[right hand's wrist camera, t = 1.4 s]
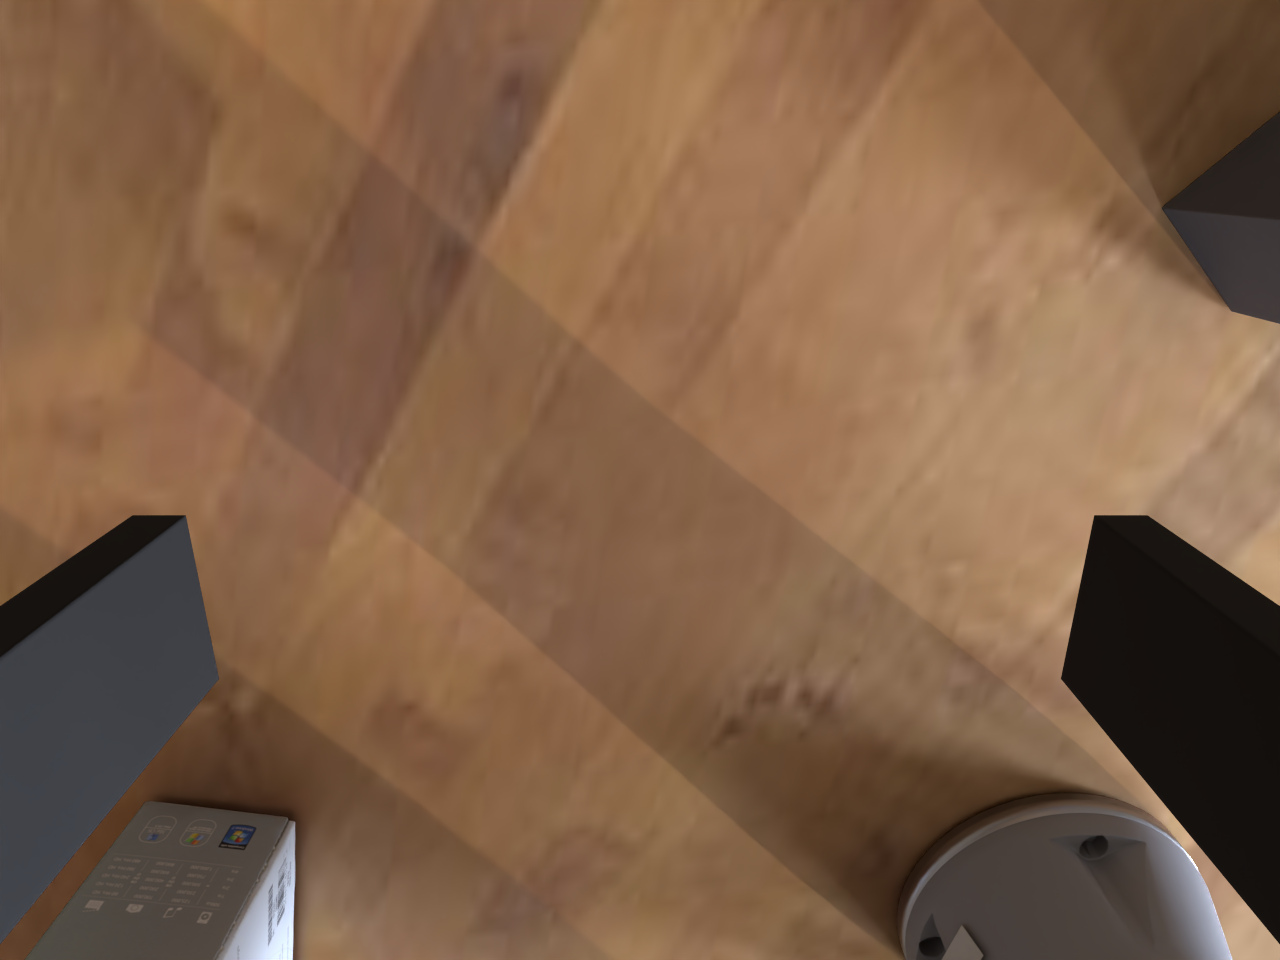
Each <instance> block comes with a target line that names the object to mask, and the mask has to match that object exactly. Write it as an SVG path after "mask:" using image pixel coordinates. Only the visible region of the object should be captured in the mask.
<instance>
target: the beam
mask: <svg viewBox="0 0 1280 960" xmlns="http://www.w3.org/2000/svg"><path fill="white" fill-rule="evenodd" d="M1162 209H1163V211H1164V212H1165V214H1166V215H1167V217H1168V218H1169V220H1170V221H1171V222H1172V224H1173V225H1174V227H1175V228H1176V230H1177V231H1178V233H1179V234H1180V236H1181V237H1182V239H1183V240H1184V242H1185V243H1186V245H1187V246H1188V248H1189V249H1190V251H1191V252H1192V254H1193V255H1194V256H1195V258H1196V259H1197V261H1198V262H1199V264H1200V265H1201V267H1202V268H1203V270H1204V271H1205V273H1206V274H1207V276H1208V277H1209V279H1210V280H1211V282H1212V283H1213V285H1214V286H1215V288H1216V289H1217V291H1218V292H1219V293H1220V295H1221V296H1222V298H1223V299H1224V301H1225V302H1226V304H1227V305H1228V307H1229V308H1230V310H1231V311H1232V312H1236V313H1240V314H1244V315H1248V316H1252V317H1255V318H1259V319H1263V320H1267V321H1271V322H1275V323H1279V324H1280V112H1279V113H1278V114H1276V115H1275V116H1274V117H1273V118H1271V119H1270V120H1269V121H1268V122H1267V123H1265V124H1264V125H1263V126H1262V127H1260V128H1259V129H1258V130H1257V131H1255V132H1254V133H1253V134H1252V135H1251V136H1249V137H1248V138H1247V139H1246V140H1244V141H1243V142H1242V143H1241V144H1239V145H1238V146H1237V147H1236V148H1235V149H1233V150H1232V151H1231V152H1230V153H1228V154H1227V155H1226V156H1225V157H1223V158H1222V159H1221V160H1220V161H1219V162H1217V163H1216V164H1215V165H1214V166H1212V167H1211V168H1210V169H1209V170H1207V171H1206V172H1205V173H1204V174H1203V175H1201V176H1200V177H1199V178H1198V179H1196V180H1195V181H1194V182H1193V183H1191V184H1190V185H1189V186H1188V187H1187V188H1185V189H1184V190H1183V191H1182V192H1180V193H1179V194H1178V195H1177V196H1175V197H1174V198H1173V199H1172V200H1171V201H1169V202H1168V203H1167V204H1166V205H1164V206H1163V207H1162Z"/></svg>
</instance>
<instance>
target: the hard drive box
mask: <svg viewBox="0 0 1280 960" xmlns="http://www.w3.org/2000/svg"><path fill="white" fill-rule="evenodd" d="M294 889H295V821H289V820H288V818H287V817H283V816H273V815H267V814H257V813H248V812H239V811H231V810H223V809H214V808H206V807H197V806H189V805H181V804H173V803H164V802H155V801H147V802H145V803H144V804H143V805H142V807H141V808H140V810H139V811H138V812H137V813H136V815H135V816H134V817H133V818H132V820H131V821H130V822H129V824H128V825H127V826H126V827H125V829H124V830H123V831H122V833H121V834H120V835H119V837H118V838H117V839H116V840H115V842H114V843H113V844H112V846H111V847H110V848H109V850H108V851H107V852H106V853H105V855H104V856H103V857H102V859H101V860H100V861H99V863H98V864H97V865H96V867H95V868H94V869H93V871H92V872H91V873H90V874H89V876H88V877H87V878H86V880H85V881H84V882H83V883H82V885H81V886H80V887H79V889H78V890H77V891H76V893H75V894H74V895H73V897H72V898H71V899H70V901H69V902H68V903H67V904H66V906H65V907H64V908H63V910H62V911H61V912H60V914H59V915H58V916H57V918H56V919H55V920H54V922H53V923H52V924H51V926H50V927H49V928H48V929H47V931H46V932H45V933H44V935H43V936H42V937H41V939H40V940H39V941H38V943H37V944H36V945H35V947H34V948H33V949H32V951H31V952H30V953H29V954H28V956H27V957H26V958H25V960H293V923H294Z"/></svg>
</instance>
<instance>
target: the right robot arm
mask: <svg viewBox="0 0 1280 960" xmlns="http://www.w3.org/2000/svg"><path fill="white" fill-rule="evenodd" d="M218 679H219V676H218V672H217V667H216V662H215V657H214V652H213V647H212V642H211V637H210V632H209V627H208V623H207V618H206V613H205V608H204V603H203V598H202V593H201V588H200V583H199V578H198V574H197V569H196V564H195V559H194V554H193V549H192V544H191V539H190V534H189V529H188V525H187V520H186V515H133V516H131V517H130V518H128V519H127V520H125V521H124V522H122V523H121V524H119V525H118V526H117V527H115V528H114V529H112V530H111V531H109V532H108V533H106V534H105V535H103V536H102V537H100V538H99V539H98V540H96V541H95V542H93V543H92V544H90V545H89V546H87V547H86V548H84V549H83V550H82V551H80V552H79V553H77V554H76V555H74V556H73V557H71V558H70V559H68V560H67V561H65V562H64V563H63V564H61V565H60V566H58V567H57V568H55V569H54V570H52V571H51V572H49V573H48V574H46V575H45V576H44V577H42V578H41V579H39V580H38V581H36V582H35V583H33V584H32V585H30V586H29V587H28V588H26V589H25V590H23V591H22V592H20V593H19V594H17V595H16V596H14V597H13V598H11V599H10V600H9V601H7V602H6V603H4V604H3V605H1V606H0V944H1V943H2V941H3V940H4V939H5V938H6V936H7V935H8V934H9V933H10V932H11V930H12V929H13V928H14V927H15V926H16V924H17V923H18V922H19V921H20V919H21V918H22V917H23V916H24V915H25V913H26V912H27V911H28V910H29V909H30V907H31V906H32V905H33V904H34V903H35V901H36V900H37V899H38V898H39V896H40V895H41V894H42V893H43V892H44V890H45V889H46V888H47V887H48V886H49V884H50V883H51V882H52V881H53V879H54V878H55V877H56V876H57V875H58V873H59V872H60V871H61V870H62V869H63V867H64V866H65V865H66V864H67V862H68V861H69V860H70V859H71V858H72V856H73V855H74V854H75V853H76V852H77V850H78V849H79V848H80V847H81V845H82V844H83V843H84V842H85V841H86V839H87V838H88V837H89V836H90V835H91V833H92V832H93V831H94V830H95V828H96V827H97V826H98V825H99V824H100V822H101V821H102V820H103V819H104V818H105V816H106V815H107V814H108V813H109V812H110V810H111V809H112V808H113V807H114V805H115V804H116V803H117V802H118V801H119V799H120V798H121V797H122V796H123V795H124V793H125V792H126V791H127V790H128V788H129V787H130V786H131V785H132V784H133V782H134V781H135V780H136V779H137V778H138V776H139V775H140V774H141V773H142V771H143V770H144V769H145V768H146V767H147V765H148V764H149V763H150V762H151V761H152V759H153V758H154V757H155V756H156V754H157V753H158V752H159V751H160V750H161V748H162V747H163V746H164V745H165V744H166V742H167V741H168V740H169V739H170V737H171V736H172V735H173V734H174V733H175V731H176V730H177V729H178V728H179V727H180V725H181V724H182V723H183V722H184V720H185V719H186V718H187V717H188V716H189V714H190V713H191V712H192V711H193V710H194V708H195V707H196V706H197V705H198V704H199V702H200V701H201V700H202V699H203V697H204V696H205V695H206V694H207V693H208V691H209V690H210V689H211V688H212V687H213V685H214V684H215V683H216V682H217V680H218ZM1061 679H1062V680H1063V682H1064V683H1065V684H1066V685H1067V687H1068V688H1069V689H1070V690H1071V691H1072V693H1073V694H1074V695H1075V696H1076V697H1077V699H1078V700H1079V701H1080V702H1081V704H1082V705H1083V706H1084V707H1085V708H1086V710H1087V711H1088V712H1089V713H1090V714H1091V716H1092V717H1093V718H1094V719H1095V720H1096V722H1097V723H1098V724H1099V725H1100V727H1101V728H1102V729H1103V730H1104V731H1105V733H1106V734H1107V735H1108V736H1109V737H1110V739H1111V740H1112V741H1113V742H1114V744H1115V745H1116V746H1117V747H1118V748H1119V750H1120V751H1121V752H1122V753H1123V754H1124V756H1125V757H1126V758H1127V759H1128V761H1129V762H1130V763H1131V764H1132V765H1133V767H1134V768H1135V769H1136V770H1137V771H1138V773H1139V774H1140V775H1141V776H1142V778H1143V779H1144V780H1145V781H1146V782H1147V784H1148V785H1149V786H1150V787H1151V788H1152V790H1153V791H1154V792H1155V793H1156V795H1157V796H1158V797H1159V798H1160V799H1161V801H1162V802H1163V803H1164V804H1165V805H1166V807H1167V808H1168V809H1169V810H1170V811H1171V813H1172V814H1173V815H1174V816H1175V818H1176V819H1177V820H1178V821H1179V822H1180V824H1181V825H1182V826H1183V827H1184V828H1185V830H1186V831H1187V832H1188V833H1189V835H1190V836H1191V837H1192V838H1193V839H1194V841H1195V842H1196V843H1197V844H1198V845H1199V847H1200V848H1201V849H1202V850H1203V852H1204V853H1205V854H1206V855H1207V856H1208V858H1209V859H1210V860H1211V861H1212V862H1213V864H1214V865H1215V866H1216V867H1217V869H1218V870H1219V871H1220V872H1221V873H1222V875H1223V876H1224V877H1225V878H1226V879H1227V881H1228V882H1229V883H1230V884H1231V886H1232V887H1233V888H1234V889H1235V890H1236V892H1237V893H1238V894H1239V895H1240V896H1241V898H1242V899H1243V900H1244V901H1245V903H1246V904H1247V905H1248V906H1249V907H1250V909H1251V910H1252V911H1253V912H1254V913H1255V915H1256V916H1257V917H1258V918H1259V919H1260V921H1261V922H1262V923H1263V924H1264V926H1265V927H1266V928H1267V929H1268V930H1269V932H1270V933H1271V934H1272V935H1273V936H1274V938H1275V939H1276V940H1277V941H1278V943H1279V944H1280V606H1279V605H1277V604H1276V603H1274V602H1273V601H1271V600H1270V599H1269V598H1267V597H1266V596H1264V595H1263V594H1261V593H1260V592H1258V591H1257V590H1255V589H1254V588H1252V587H1251V586H1250V585H1248V584H1247V583H1245V582H1244V581H1242V580H1241V579H1239V578H1238V577H1236V576H1235V575H1234V574H1232V573H1231V572H1229V571H1228V570H1226V569H1225V568H1223V567H1222V566H1220V565H1219V564H1217V563H1216V562H1215V561H1213V560H1212V559H1210V558H1209V557H1207V556H1206V555H1204V554H1203V553H1201V552H1200V551H1199V550H1197V549H1196V548H1194V547H1193V546H1191V545H1190V544H1188V543H1187V542H1185V541H1184V540H1182V539H1181V538H1180V537H1178V536H1177V535H1175V534H1174V533H1172V532H1171V531H1169V530H1168V529H1166V528H1165V527H1163V526H1162V525H1161V524H1159V523H1158V522H1156V521H1155V520H1153V519H1152V518H1150V517H1149V516H1147V515H1094V520H1093V525H1092V529H1091V534H1090V539H1089V544H1088V549H1087V554H1086V559H1085V564H1084V569H1083V574H1082V578H1081V583H1080V588H1079V593H1078V598H1077V603H1076V608H1075V613H1074V618H1073V623H1072V627H1071V632H1070V637H1069V642H1068V647H1067V652H1066V657H1065V662H1064V667H1063V672H1062V676H1061ZM897 931H898V937H899V941H900V944H901V947H902V950H903V953H904V956H905V959H906V960H1232V957H1231V954H1230V951H1229V948H1228V945H1227V942H1226V939H1225V936H1224V933H1223V931H1222V928H1221V925H1220V922H1219V919H1218V916H1217V913H1216V910H1215V907H1214V904H1213V901H1212V899H1211V896H1210V893H1209V890H1208V888H1207V886H1206V884H1205V882H1204V880H1203V878H1202V876H1201V874H1200V873H1199V871H1198V869H1197V867H1196V865H1195V864H1194V862H1193V860H1192V859H1191V858H1190V856H1189V855H1188V854H1187V853H1186V851H1185V850H1184V849H1183V847H1182V846H1181V845H1180V844H1179V842H1178V841H1177V840H1176V839H1175V837H1174V836H1173V835H1172V834H1171V832H1170V831H1169V830H1168V829H1167V828H1166V827H1165V826H1164V825H1163V824H1162V823H1161V822H1159V821H1158V820H1157V819H1155V818H1154V817H1153V816H1151V815H1150V814H1148V813H1146V812H1145V811H1143V810H1141V809H1139V808H1137V807H1135V806H1133V805H1130V804H1128V803H1125V802H1122V801H1119V800H1116V799H1112V798H1108V797H1104V796H1098V795H1092V794H1081V793H1055V794H1044V795H1038V796H1032V797H1026V798H1022V799H1018V800H1014V801H1011V802H1008V803H1005V804H1001V805H998V806H996V807H993V808H991V809H989V810H986V811H984V812H982V813H980V814H978V815H976V816H974V817H972V818H970V819H968V820H966V821H965V822H963V823H961V824H960V825H958V826H957V827H955V828H954V829H952V830H951V831H950V832H948V833H947V834H945V835H944V836H943V837H942V838H941V839H940V840H938V841H937V842H936V843H935V844H934V845H933V846H932V847H931V848H930V849H929V850H928V851H927V852H926V853H925V854H924V856H923V857H922V858H921V859H920V860H919V862H918V863H917V864H916V866H915V867H914V869H913V870H912V872H911V873H910V875H909V877H908V879H907V881H906V883H905V885H904V888H903V890H902V893H901V896H900V900H899V904H898V911H897Z"/></svg>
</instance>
